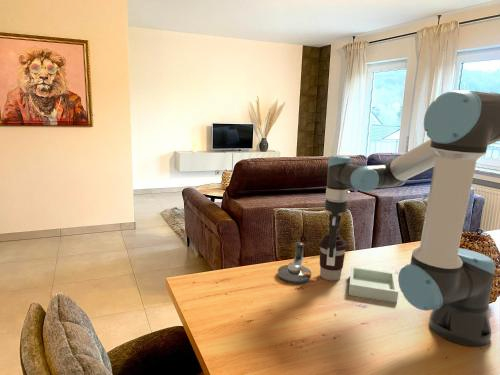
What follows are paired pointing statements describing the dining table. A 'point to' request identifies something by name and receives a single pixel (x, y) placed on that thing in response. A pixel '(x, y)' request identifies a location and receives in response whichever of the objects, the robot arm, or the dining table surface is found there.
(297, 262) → the crank
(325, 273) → the coffee cup
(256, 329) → the dining table surface
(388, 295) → the tray
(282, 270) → the grey round base
